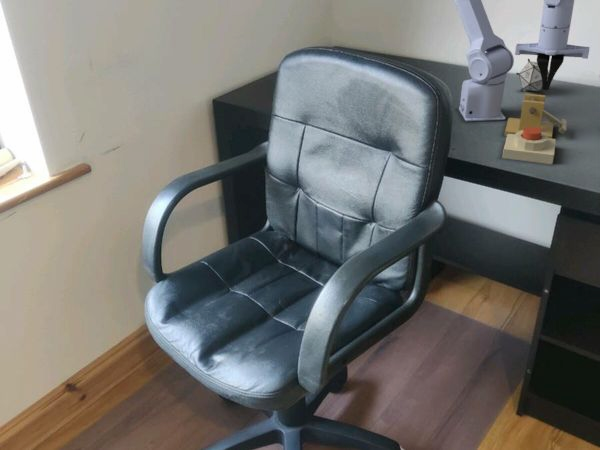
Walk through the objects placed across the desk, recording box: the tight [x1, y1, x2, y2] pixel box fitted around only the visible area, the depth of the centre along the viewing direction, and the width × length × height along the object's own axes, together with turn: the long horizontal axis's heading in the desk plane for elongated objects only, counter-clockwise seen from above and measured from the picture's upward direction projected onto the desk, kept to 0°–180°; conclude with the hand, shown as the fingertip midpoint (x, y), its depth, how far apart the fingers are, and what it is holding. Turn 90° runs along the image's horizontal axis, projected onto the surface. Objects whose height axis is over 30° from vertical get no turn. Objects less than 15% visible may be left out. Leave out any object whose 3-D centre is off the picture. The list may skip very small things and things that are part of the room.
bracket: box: [503, 93, 555, 139], centre depth 139 cm, size 10×8×8 cm
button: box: [522, 127, 542, 141], centre depth 130 cm, size 4×4×2 cm
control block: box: [501, 130, 557, 165], centre depth 131 cm, size 10×8×4 cm
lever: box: [530, 97, 568, 135], centre depth 138 cm, size 10×6×2 cm, turn 69°
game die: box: [515, 58, 554, 95], centre depth 160 cm, size 9×8×10 cm
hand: (545, 88), depth 135 cm, fingers closed
